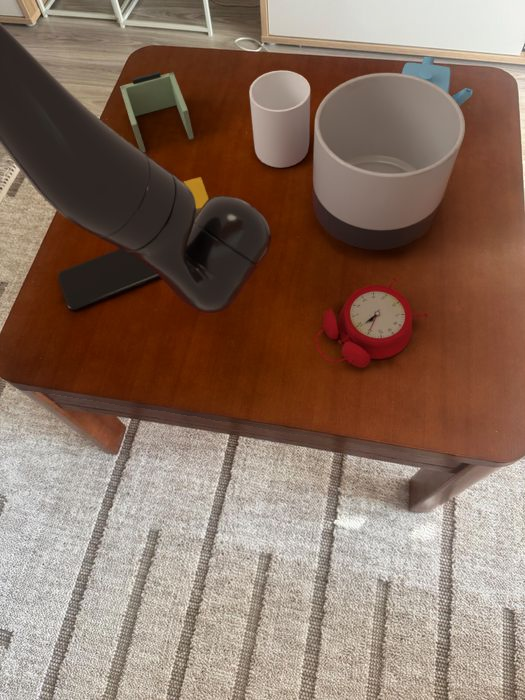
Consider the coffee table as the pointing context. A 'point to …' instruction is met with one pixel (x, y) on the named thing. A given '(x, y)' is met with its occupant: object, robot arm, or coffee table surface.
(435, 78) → the teapot
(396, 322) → the alarm clock
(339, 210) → the planter
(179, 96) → the bracket
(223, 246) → the robot arm
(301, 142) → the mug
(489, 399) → the coffee table surface
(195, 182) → the yellow rectangular block
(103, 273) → the smartphone
